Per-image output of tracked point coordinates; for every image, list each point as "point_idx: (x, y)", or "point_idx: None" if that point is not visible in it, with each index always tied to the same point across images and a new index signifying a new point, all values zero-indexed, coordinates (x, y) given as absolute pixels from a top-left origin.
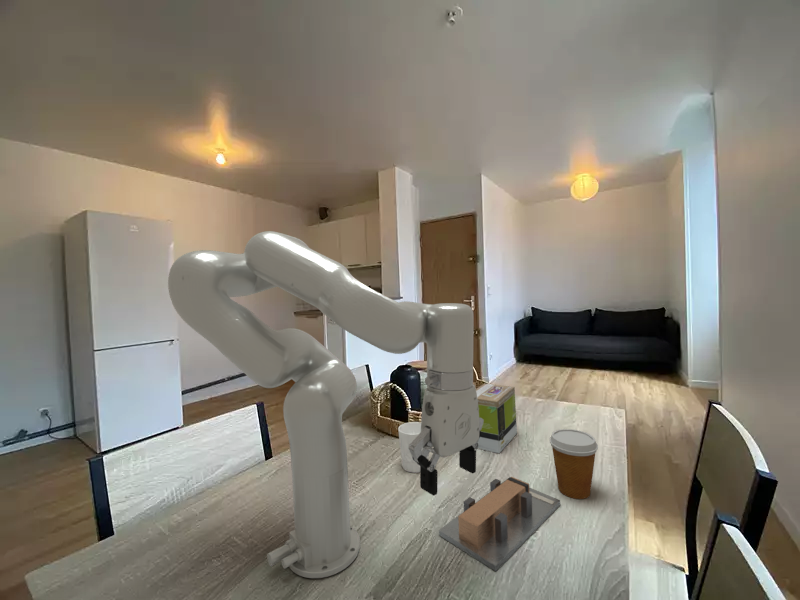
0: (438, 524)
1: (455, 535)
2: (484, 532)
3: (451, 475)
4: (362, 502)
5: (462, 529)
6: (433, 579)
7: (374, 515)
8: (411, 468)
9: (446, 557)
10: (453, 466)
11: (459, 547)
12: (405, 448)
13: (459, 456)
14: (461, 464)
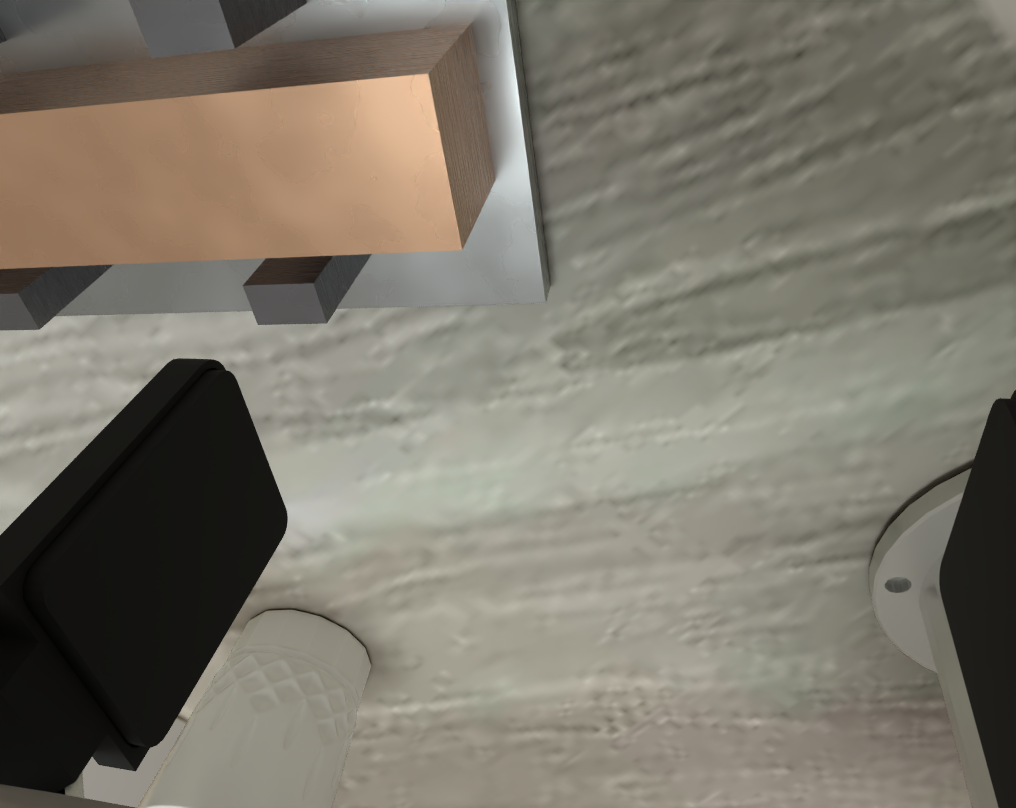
0: (490, 342)
1: (498, 209)
2: (367, 53)
3: None
4: (677, 646)
5: (474, 181)
6: (853, 64)
7: (700, 570)
8: (345, 652)
9: (648, 139)
10: None
11: (530, 138)
12: (330, 764)
13: (228, 625)
14: (262, 531)
